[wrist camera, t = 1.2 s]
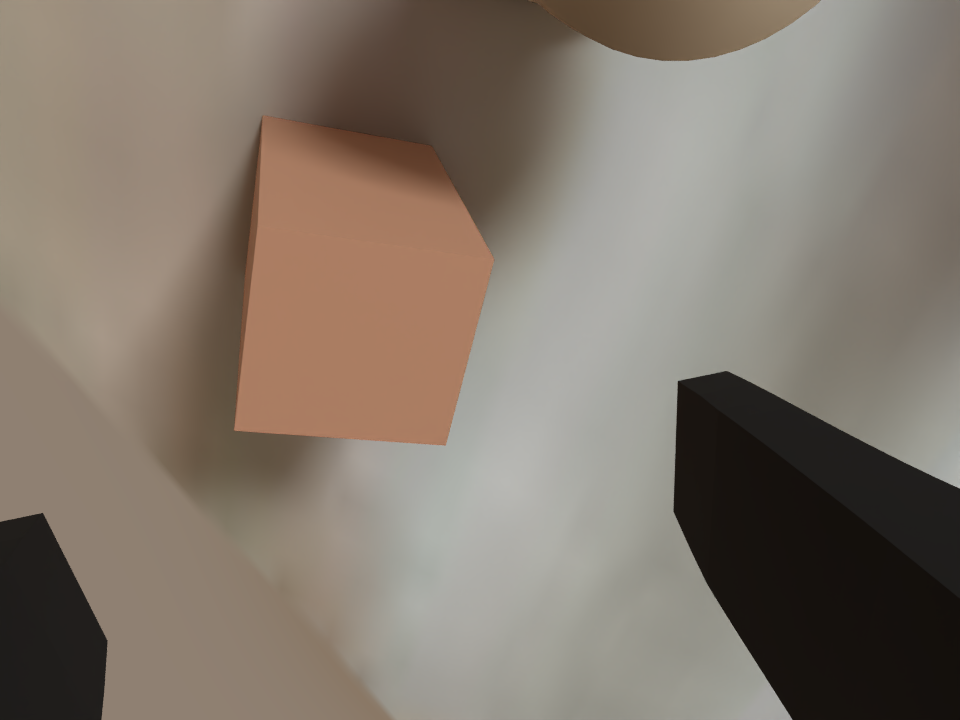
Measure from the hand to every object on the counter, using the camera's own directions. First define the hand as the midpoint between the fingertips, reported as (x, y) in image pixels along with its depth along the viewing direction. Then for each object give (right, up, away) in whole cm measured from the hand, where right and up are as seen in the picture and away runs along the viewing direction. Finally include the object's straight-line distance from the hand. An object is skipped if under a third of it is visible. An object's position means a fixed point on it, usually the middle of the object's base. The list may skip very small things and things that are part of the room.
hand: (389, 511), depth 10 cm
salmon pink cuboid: (-2, +5, +8) cm, 10 cm away
